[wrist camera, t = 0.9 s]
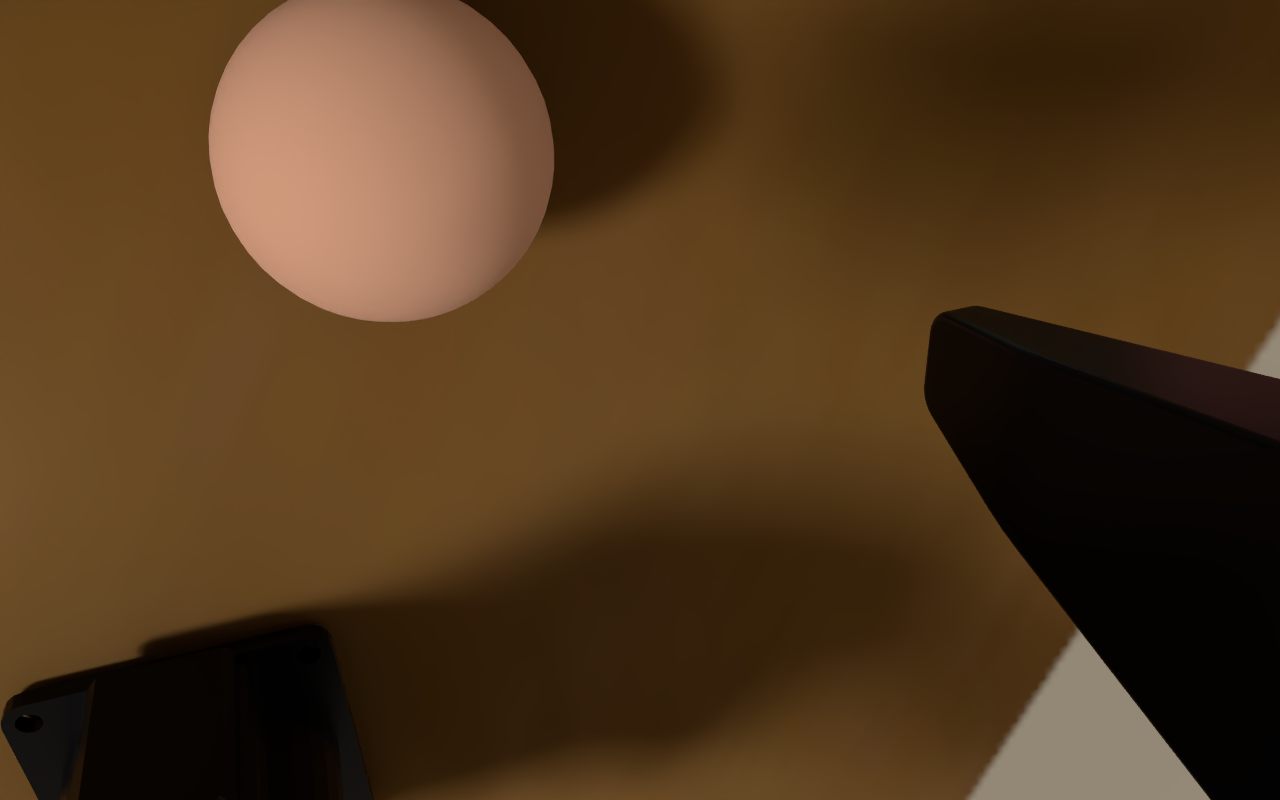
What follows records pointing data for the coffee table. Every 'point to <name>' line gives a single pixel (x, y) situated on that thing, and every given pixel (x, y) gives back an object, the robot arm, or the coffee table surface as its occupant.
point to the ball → (381, 154)
